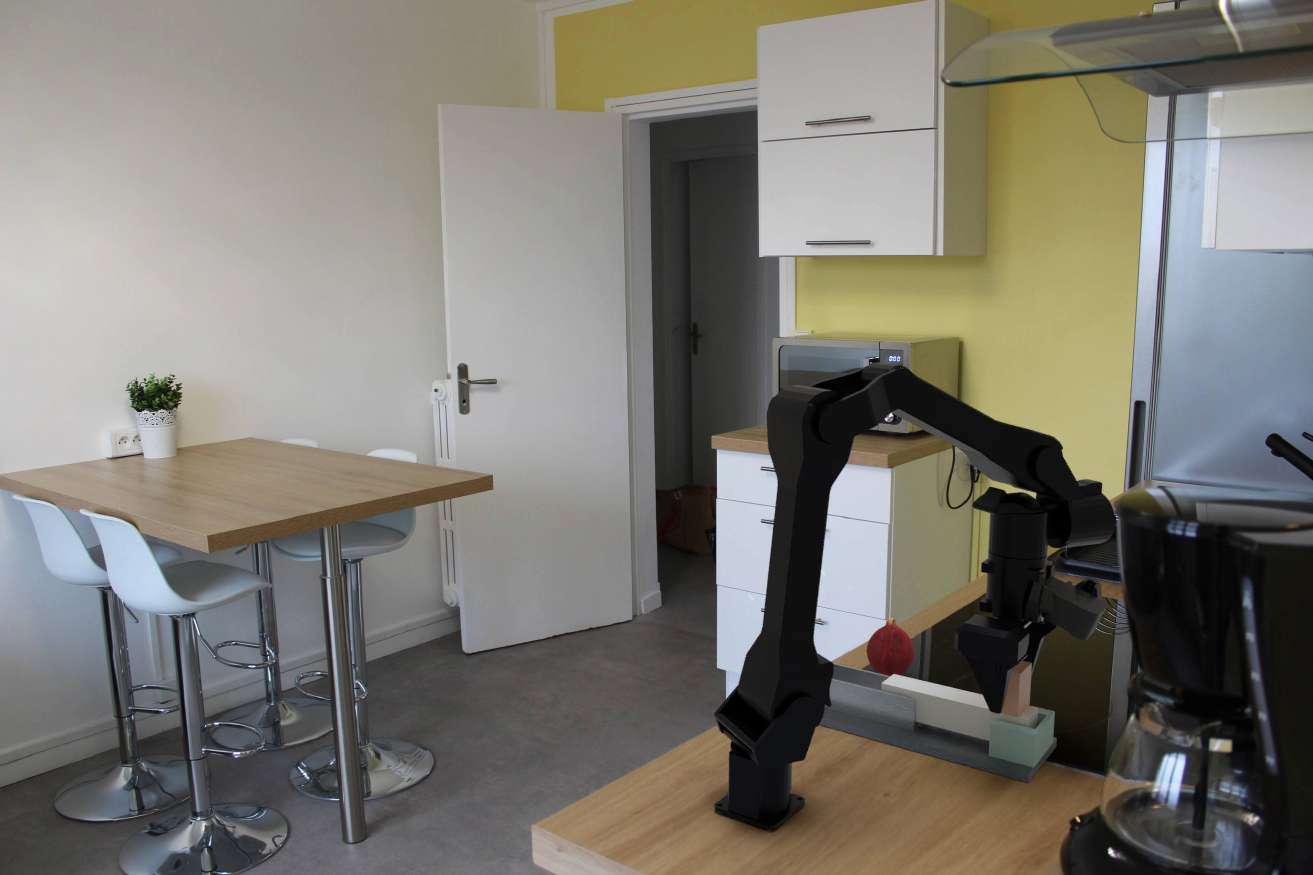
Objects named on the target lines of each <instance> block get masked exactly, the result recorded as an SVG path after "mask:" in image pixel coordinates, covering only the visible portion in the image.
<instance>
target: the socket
mask: <svg viewBox="0 0 1313 875" xmlns="http://www.w3.org/2000/svg"><path fill="white" fill-rule="evenodd" d="M1029 706H1032V707H1035V706H1033V705H1030V704H1029ZM1036 707H1037V708H1038V724H1037V728H1036V729H1034V728H1030V727H1026V726H1022V725H1018V724H1014V723H1010V722H1006V721H1002V720H998V719H994V720H993V721H992V722H991V723H990V739H989V756H992V757H995V758H999V759H1003V760H1006V761H1010V762H1014V763H1018V764H1021V765H1025V766H1029V767H1032V768H1034V767H1035V765H1036V764H1037V763H1038V761H1039V760H1040V759H1041V758H1042V756H1043V755H1044V754H1045V752H1046V751H1047V750H1048V749H1049V747H1050V746H1051V745H1052V743H1053V737H1054V732H1055V731H1054V730H1055V714H1056V712H1055V711H1054V710H1052V709H1045V708H1042V707H1038V706H1036Z"/></svg>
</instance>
